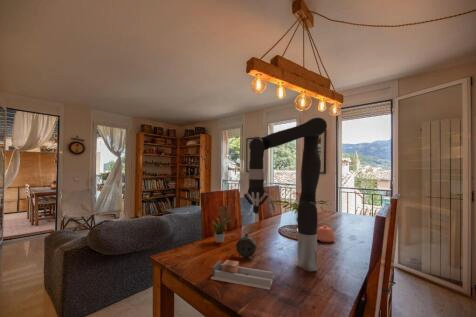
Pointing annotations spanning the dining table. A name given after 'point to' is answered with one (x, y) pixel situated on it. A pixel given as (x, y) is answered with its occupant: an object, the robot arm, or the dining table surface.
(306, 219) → the robot arm
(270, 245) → the dining table surface
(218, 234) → the house plant
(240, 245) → the alarm clock
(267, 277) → the chute
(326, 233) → the sugar bowl
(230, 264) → the block
